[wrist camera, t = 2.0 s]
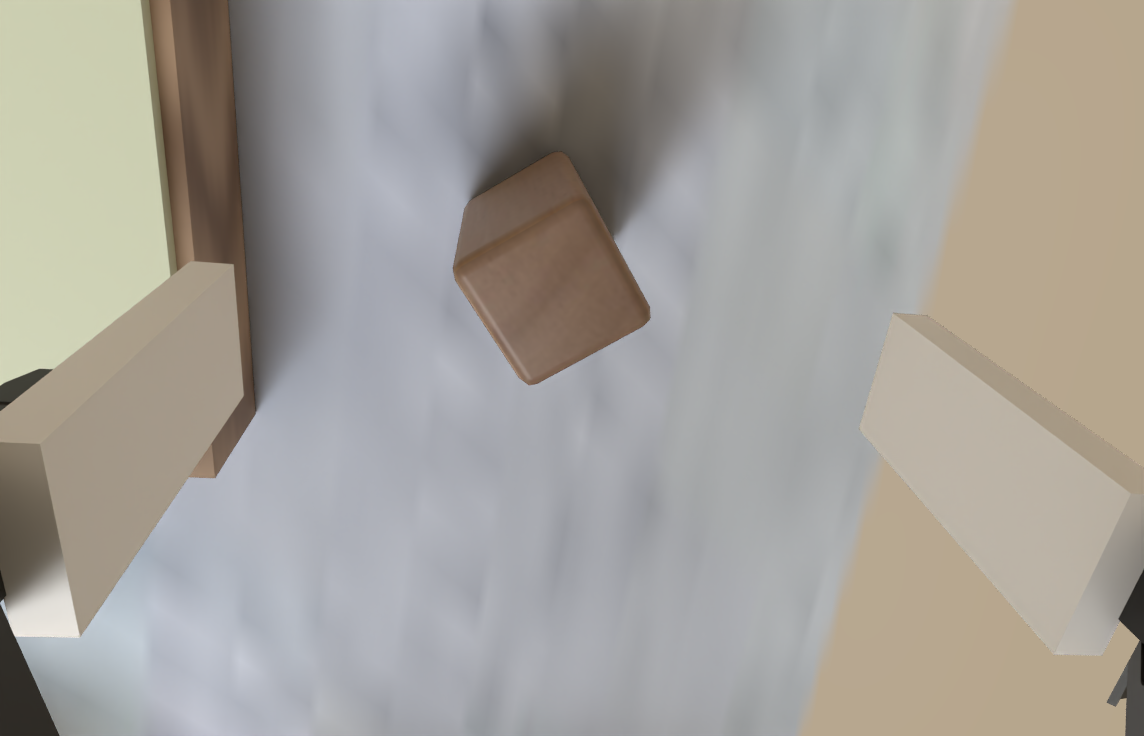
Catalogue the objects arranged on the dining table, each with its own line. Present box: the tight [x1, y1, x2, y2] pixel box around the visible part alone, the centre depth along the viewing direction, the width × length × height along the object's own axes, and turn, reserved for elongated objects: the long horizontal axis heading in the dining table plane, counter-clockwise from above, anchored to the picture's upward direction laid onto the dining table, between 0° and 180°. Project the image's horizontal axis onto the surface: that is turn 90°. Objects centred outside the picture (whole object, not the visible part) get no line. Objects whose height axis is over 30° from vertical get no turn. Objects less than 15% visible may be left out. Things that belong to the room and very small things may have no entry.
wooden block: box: [453, 151, 651, 385], centre depth 23 cm, size 4×4×8 cm
